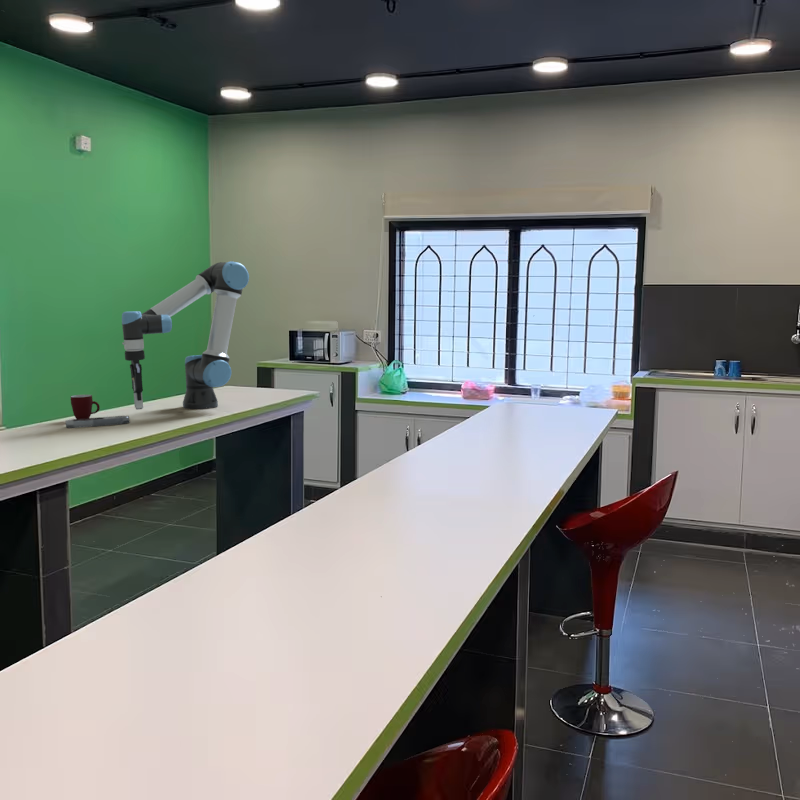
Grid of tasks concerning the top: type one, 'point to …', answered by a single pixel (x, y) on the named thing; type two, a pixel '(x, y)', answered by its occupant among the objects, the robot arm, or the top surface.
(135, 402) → the pin
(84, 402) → the mug
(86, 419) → the grey rounded bar
